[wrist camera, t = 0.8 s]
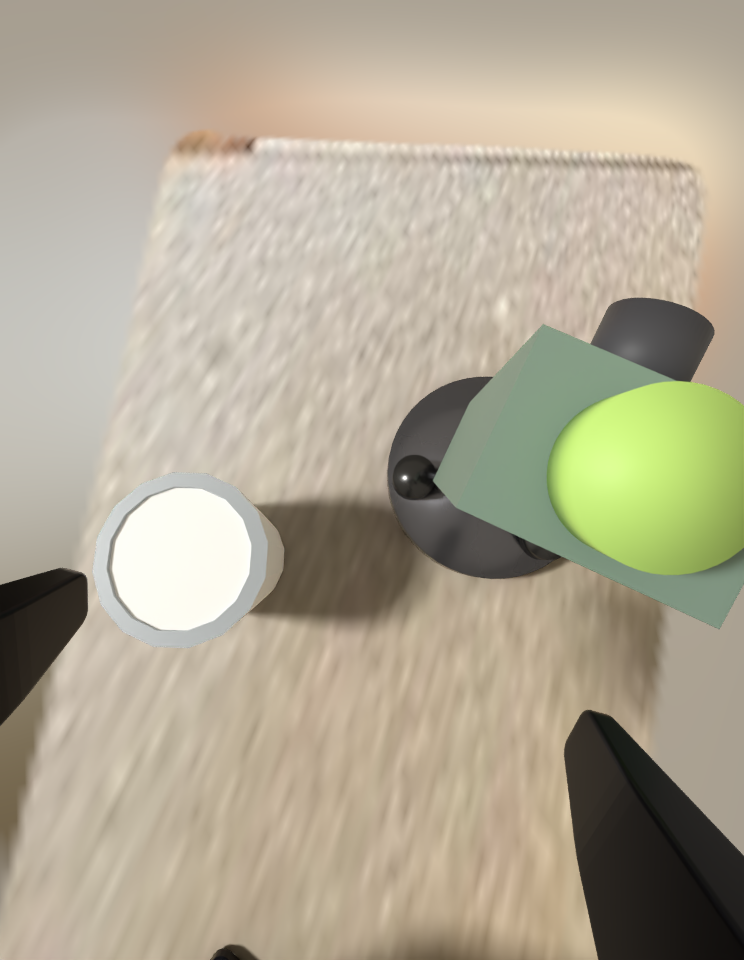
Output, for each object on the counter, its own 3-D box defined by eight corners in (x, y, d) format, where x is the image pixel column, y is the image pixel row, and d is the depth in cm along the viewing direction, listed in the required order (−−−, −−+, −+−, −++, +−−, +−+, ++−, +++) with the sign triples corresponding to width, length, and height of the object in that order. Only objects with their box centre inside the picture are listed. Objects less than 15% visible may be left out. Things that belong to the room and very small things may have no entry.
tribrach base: (540, 612, 24) (564, 620, 21) (354, 524, 25) (352, 519, 22) (610, 432, 26) (641, 415, 23) (434, 355, 26) (443, 329, 23)
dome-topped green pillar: (535, 527, 22) (776, 660, 7) (431, 479, 22) (463, 515, 8) (590, 415, 22) (967, 318, 7) (483, 368, 22) (622, 183, 7)
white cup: (304, 612, 24) (278, 633, 17) (175, 634, 24) (95, 664, 17) (287, 486, 25) (256, 458, 18) (164, 506, 25) (85, 485, 18)
